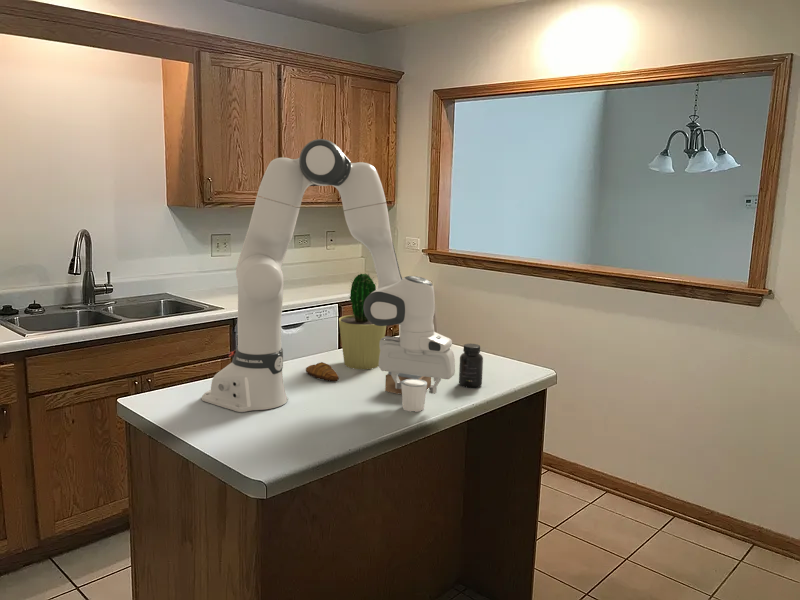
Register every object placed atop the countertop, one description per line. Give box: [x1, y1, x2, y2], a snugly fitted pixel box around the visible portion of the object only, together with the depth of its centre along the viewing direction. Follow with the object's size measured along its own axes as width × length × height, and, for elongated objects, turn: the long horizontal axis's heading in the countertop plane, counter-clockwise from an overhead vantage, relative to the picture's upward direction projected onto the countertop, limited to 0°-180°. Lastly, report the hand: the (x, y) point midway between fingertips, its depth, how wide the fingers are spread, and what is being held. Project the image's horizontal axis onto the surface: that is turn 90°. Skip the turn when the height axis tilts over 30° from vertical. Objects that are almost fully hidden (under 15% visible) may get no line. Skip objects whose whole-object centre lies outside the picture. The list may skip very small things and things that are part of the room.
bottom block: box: [384, 373, 432, 395], centre depth 186 cm, size 10×10×5 cm
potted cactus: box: [338, 273, 387, 370], centre depth 206 cm, size 15×15×30 cm
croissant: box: [305, 361, 339, 383], centre depth 194 cm, size 14×7×5 cm, turn 48°
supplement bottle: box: [458, 343, 484, 389], centre depth 191 cm, size 7×7×12 cm
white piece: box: [401, 379, 427, 413], centre depth 171 cm, size 7×7×7 cm
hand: (415, 390), depth 171 cm, fingers open, 8 cm apart
